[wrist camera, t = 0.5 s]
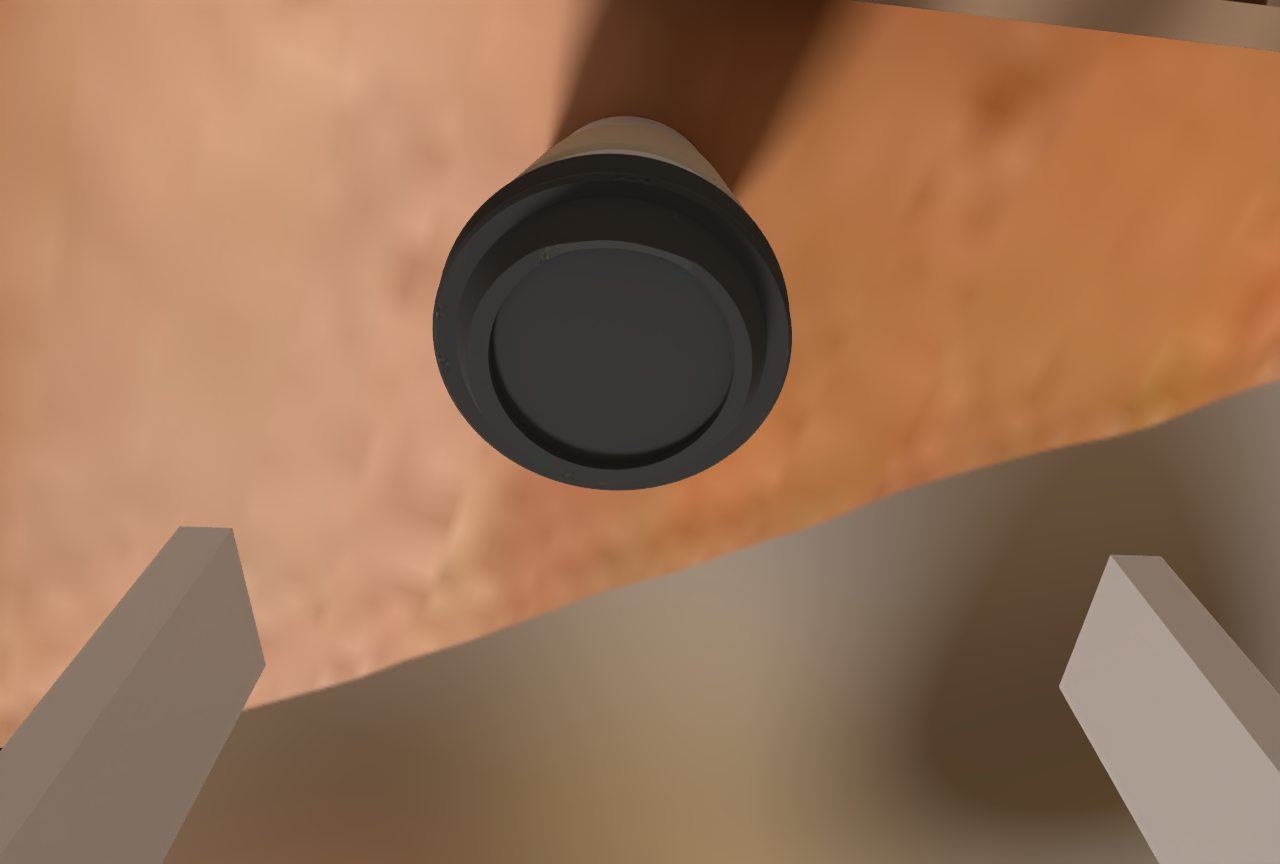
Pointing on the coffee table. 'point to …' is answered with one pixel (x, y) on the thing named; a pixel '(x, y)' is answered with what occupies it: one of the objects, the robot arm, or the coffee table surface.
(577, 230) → the coffee cup
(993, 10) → the box
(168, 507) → the coffee table surface
